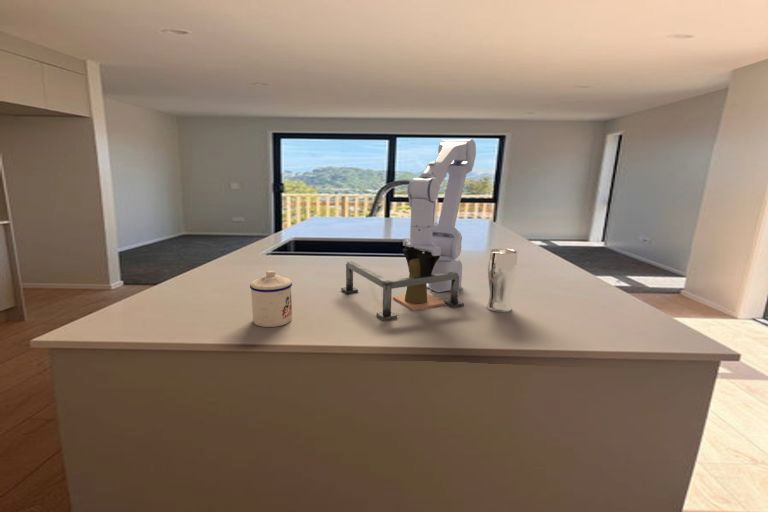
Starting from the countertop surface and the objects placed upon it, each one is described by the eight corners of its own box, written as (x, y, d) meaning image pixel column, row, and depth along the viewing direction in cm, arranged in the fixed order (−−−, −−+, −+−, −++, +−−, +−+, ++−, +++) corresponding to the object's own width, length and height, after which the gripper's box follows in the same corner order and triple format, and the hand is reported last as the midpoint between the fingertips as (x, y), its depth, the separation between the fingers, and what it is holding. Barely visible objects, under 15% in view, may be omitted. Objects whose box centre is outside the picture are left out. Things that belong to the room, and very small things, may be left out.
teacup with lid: (291, 327, 86) (290, 276, 84) (248, 329, 85) (245, 277, 82) (295, 308, 98) (293, 263, 95) (257, 309, 96) (254, 263, 94)
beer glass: (498, 314, 96) (503, 255, 93) (479, 305, 102) (483, 249, 99) (519, 310, 99) (524, 252, 96) (499, 302, 105) (504, 247, 102)
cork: (425, 304, 100) (428, 262, 98) (402, 301, 102) (404, 260, 100) (429, 298, 106) (432, 258, 104) (407, 295, 107) (409, 256, 105)
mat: (423, 294, 111) (423, 291, 111) (445, 304, 103) (445, 302, 102) (393, 298, 106) (393, 296, 106) (412, 310, 98) (413, 308, 98)
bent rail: (410, 280, 124) (411, 253, 122) (463, 306, 102) (465, 273, 100) (341, 290, 113) (341, 260, 111) (383, 321, 91) (384, 284, 89)
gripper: (393, 222, 104) (392, 272, 107) (424, 230, 92) (422, 286, 95) (416, 221, 108) (414, 269, 111) (448, 229, 95) (445, 283, 98)
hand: (419, 277), depth 103 cm, fingers closed on cork, 5 cm apart
